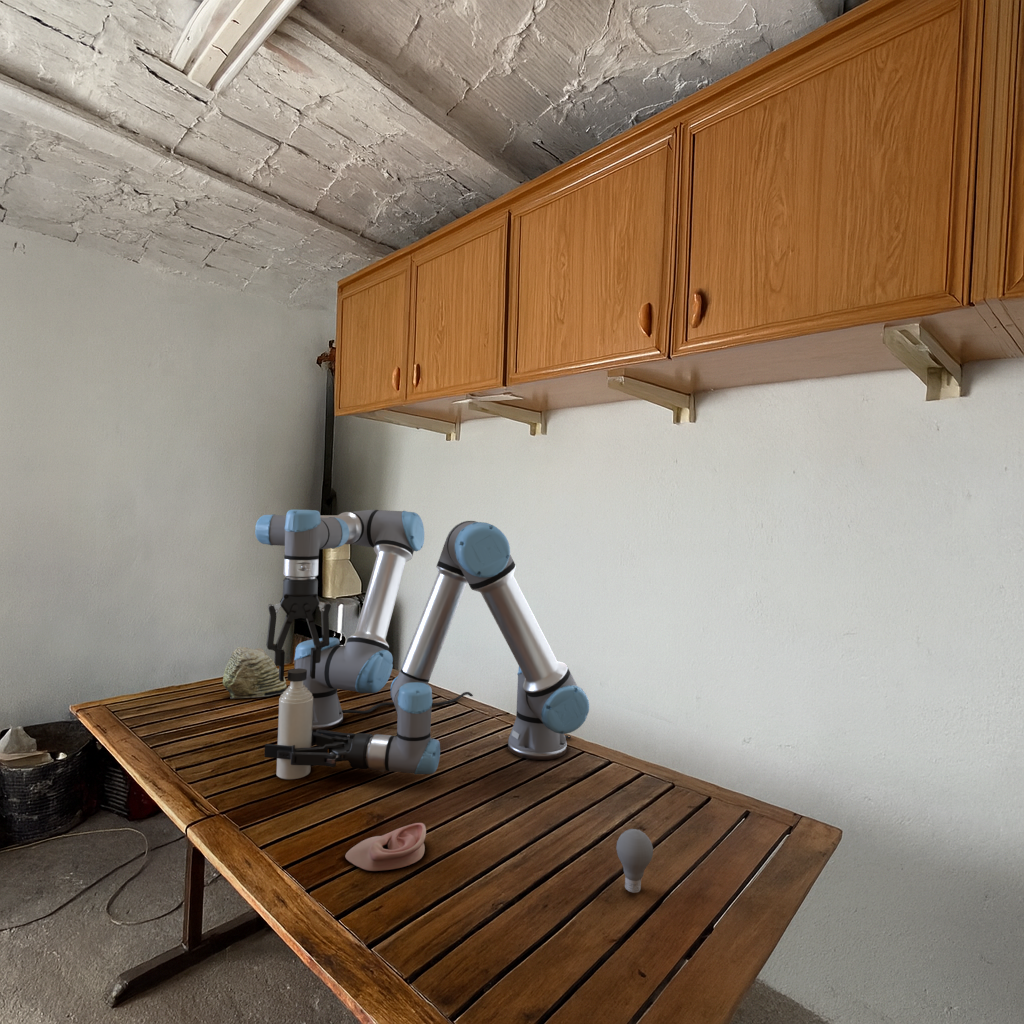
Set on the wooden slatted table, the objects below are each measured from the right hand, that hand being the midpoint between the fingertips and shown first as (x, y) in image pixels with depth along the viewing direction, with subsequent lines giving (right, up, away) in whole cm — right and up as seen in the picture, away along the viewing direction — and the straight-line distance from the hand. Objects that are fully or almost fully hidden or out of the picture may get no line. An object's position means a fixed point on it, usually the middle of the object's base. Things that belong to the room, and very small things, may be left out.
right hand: (274, 743), depth 145 cm
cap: (+6, +17, -1) cm, 17 cm away
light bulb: (+75, -10, -40) cm, 85 cm away
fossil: (-26, -4, +53) cm, 59 cm away
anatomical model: (+32, -8, -32) cm, 46 cm away
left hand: (+6, +15, -1) cm, 16 cm away
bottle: (+5, -6, 0) cm, 8 cm away
